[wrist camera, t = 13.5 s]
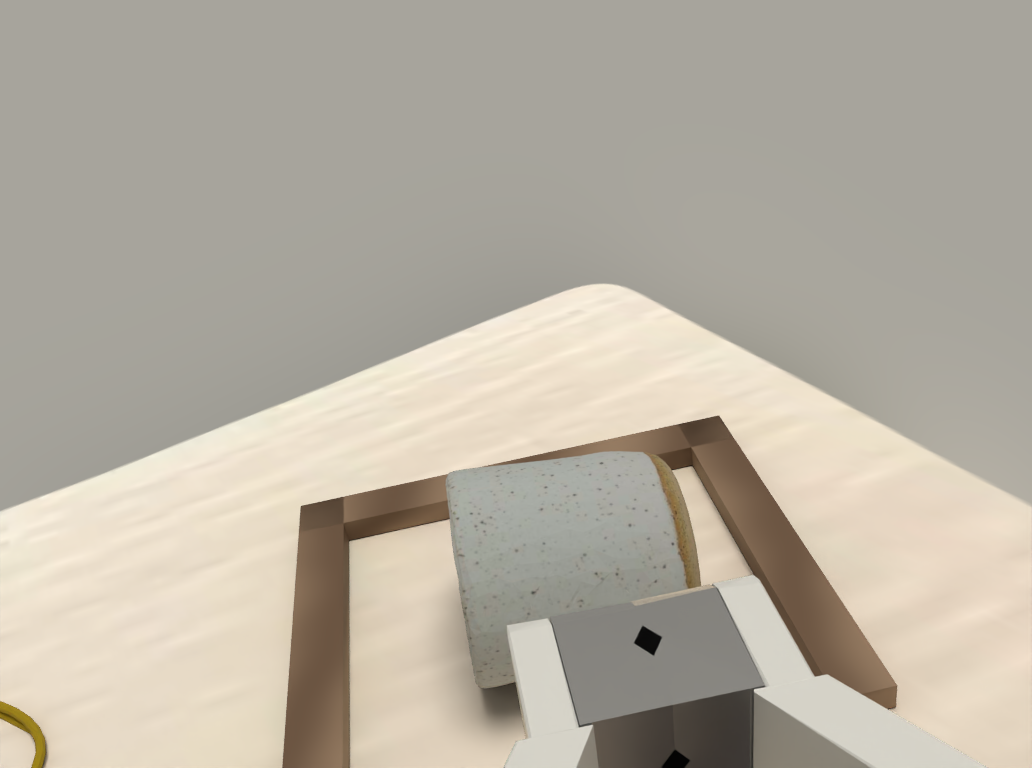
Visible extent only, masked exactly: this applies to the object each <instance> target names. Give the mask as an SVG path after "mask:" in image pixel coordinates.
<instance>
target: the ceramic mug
mask: <svg viewBox="0 0 1032 768" xmlns="http://www.w3.org/2000/svg"><path fill="white" fill-rule="evenodd" d="M445 485H446V491H447V499H448V508H449V516H450V526H451V537H452V546H453V553H454V559H455V565H456V570H457V574H458V579H459V590H460V596H461V602H462V608H463V613H464V618H465V624H466V631H467V637H468V642H469V648H470V655H471V659H472V665H473V670H474V676H475V681H476V684H477V685H478V687H480V688H492V687H497V686H502V685H506V684H510V683H514V682H516V681H515V676H514V670H513V664H512V659H511V653H510V647H509V642H508V636H507V625H512V624H517V623H523V622H529V621H534V620H540V619H546V618H548V619H549V620H550V617H551V616H557V615H562V614H568V613H573V612H579V611H584V610H590V609H595V608H601V607H606V606H612V605H618V604H623V603H629V602H631V601H635V600H640V599H644V598H649V597H654V596H658V595H663V594H668V593H672V592H677V591H681V590H686V589H691V588H695V587H700V586H701V581H700V570H699V563H698V556H697V549H696V544H695V539H694V534H693V530H692V526H691V521H690V517H689V513H688V510H687V507H686V503H685V500H684V497H683V495H682V492H681V489H680V486H679V484H678V481H677V479H676V477H675V476H674V474H673V472H672V470H671V469H670V467H669V466H668V465H667V464H666V462H664V461H663V460H662V459H661V458H659V457H658V456H656V455H653V454H650V453H647V452H626V451H609V452H599V453H593V454H587V455H582V456H575V457H567V458H560V459H552V460H543V461H534V462H525V463H517V464H508V465H499V466H490V467H481V468H472V469H464V470H458V471H453V472H451V473H449V474H448V475H447V478H446V484H445Z"/></svg>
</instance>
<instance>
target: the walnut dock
mask: <svg viewBox="0 0 1032 768" xmlns="http://www.w3.org/2000/svg"><path fill="white" fill-rule="evenodd" d="M609 451H626V452H647V453H650V454H653V455H656V456H658V457H659V458H661V459H662V460H663V461H664V462H666V464H667V465H668V466H669V467H670V469H671V470H672V469H676V468H681V467H686V466H690V465H693V467H694V468H695V470H696V472H697V474H698V476H699V477H700V479H701V481H702V483H703V484H704V486H705V488H706V490H707V492H708V493H709V495H710V497H711V499H712V500H713V502H714V504H715V506H716V507H717V509H718V511H719V513H720V515H721V516H722V518H723V520H724V522H725V523H726V525H727V527H728V529H729V531H730V532H731V534H732V536H733V538H734V539H735V541H736V543H737V545H738V547H739V548H740V550H741V552H742V554H743V555H744V557H745V559H746V561H747V562H748V564H749V566H750V568H751V570H752V571H753V573H754V575H755V577H757V578H758V579H759V580H760V581H761V583H762V585H763V586H764V588H765V590H766V592H767V593H768V595H769V597H770V599H771V600H772V602H773V604H774V606H775V608H776V609H777V611H778V613H779V615H780V616H781V618H782V620H783V622H784V623H785V625H786V627H787V629H788V630H789V632H790V634H791V636H792V637H793V639H794V641H795V643H796V644H797V646H798V648H799V650H800V652H801V653H802V655H803V657H804V659H805V660H806V662H807V664H808V666H809V667H810V669H811V671H812V673H813V674H814V676H815V677H816V676H821V675H827V674H828V675H829V676H831V677H833V678H835V679H836V680H838V681H840V682H841V683H843V684H845V685H847V686H848V687H850V688H852V689H853V690H855V691H857V692H859V693H860V694H862V695H864V696H866V697H867V698H869V699H871V700H872V701H874V702H876V703H878V704H879V705H881V706H883V707H884V708H886V709H889V708H893V707H896V695H897V685H896V683H895V682H894V680H893V678H892V677H891V675H890V674H889V672H888V671H887V669H886V668H885V666H884V665H883V663H882V662H881V660H880V659H879V657H878V656H877V654H876V653H875V651H874V650H873V648H872V647H871V645H870V644H869V642H868V641H867V639H866V638H865V636H864V635H863V633H862V632H861V630H860V629H859V627H858V625H857V624H856V622H855V621H854V619H853V618H852V616H851V615H850V613H849V612H848V610H847V609H846V607H845V606H844V604H843V603H842V601H841V600H840V598H839V597H838V595H837V594H836V592H835V591H834V589H833V588H832V586H831V585H830V583H829V582H828V580H827V579H826V577H825V575H824V574H823V572H822V571H821V569H820V568H819V566H818V565H817V563H816V562H815V560H814V559H813V557H812V556H811V554H810V553H809V551H808V550H807V548H806V547H805V545H804V544H803V542H802V541H801V539H800V538H799V536H798V535H797V533H796V532H795V530H794V529H793V527H792V525H791V524H790V522H789V521H788V519H787V518H786V516H785V515H784V513H783V512H782V510H781V509H780V507H779V506H778V504H777V503H776V501H775V500H774V498H773V497H772V495H771V494H770V492H769V491H768V489H767V488H766V486H765V485H764V483H763V482H762V480H761V479H760V477H759V476H758V474H757V472H756V471H755V469H754V468H753V466H752V465H751V463H750V462H749V460H748V459H747V457H746V456H745V454H744V453H743V451H742V450H741V448H740V447H739V445H738V444H737V442H736V441H735V439H734V438H733V436H732V435H731V433H730V432H729V430H728V429H727V427H726V426H725V424H724V422H723V421H722V419H721V418H720V416H715V417H710V418H705V419H701V420H696V421H691V422H687V423H682V424H678V425H673V426H668V427H664V428H659V429H655V430H650V431H645V432H641V433H636V434H631V435H627V436H622V437H618V438H613V439H608V440H604V441H599V442H595V443H590V444H585V445H581V446H576V447H571V448H567V449H562V450H558V451H553V452H548V453H544V454H539V455H534V456H530V457H525V458H521V459H516V460H511V461H507V462H502V463H498V464H493V465H488V466H484V467H490V466H499V465H508V464H517V463H525V462H534V461H543V460H552V459H560V458H567V457H575V456H582V455H587V454H593V453H599V452H609ZM479 468H481V467H479ZM447 475H448V474H447ZM447 475H442V476H437V477H433V478H428V479H424V480H419V481H414V482H410V483H405V484H401V485H396V486H391V487H387V488H382V489H377V490H373V491H368V492H364V493H359V494H354V495H350V496H345V497H340V498H336V499H331V500H327V501H322V502H317V503H313V504H308V505H304V506H301V512H300V526H299V540H298V554H297V568H296V583H295V597H294V611H293V625H292V639H291V654H290V668H289V682H288V696H287V710H286V725H285V739H284V753H283V767H282V768H350V752H349V540H353V539H357V538H362V537H366V536H371V535H375V534H380V533H385V532H389V531H394V530H398V529H403V528H407V527H412V526H416V525H421V524H426V523H430V522H435V521H439V520H444V519H448V518H450V516H449V508H448V499H447V491H446V485H445V484H446V478H447Z"/></svg>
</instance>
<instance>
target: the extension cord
mask: <svg viewBox="0 0 1032 768" xmlns="http://www.w3.org/2000/svg"><path fill="white" fill-rule="evenodd" d="M0 718H1V719H3V720H5V721H7V722H9V723H10V724H12V725H14V726H16V727H18V728H20V729H22V730H24V731H26V732H28V733H30V734H31V735H32V737H33V739H34V741H35V747H36V754H35V757H34V761H33V764H32V767H31V768H42V765H43V761H44V758H45V754H46V750H45V738H44V736H43V734H42V731H41V729H40V727H39V726H38V725H37V724H36V723H35V722H34V720H33V719H32V718H31V717H30V716H28V715H27V714H25V713H23V712H22V711H20V710H19V709H17V708H15V707H13V706H11V705H8V704H6V703H4V702H1V701H0Z"/></svg>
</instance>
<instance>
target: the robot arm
mask: <svg viewBox="0 0 1032 768" xmlns="http://www.w3.org/2000/svg"><path fill="white" fill-rule="evenodd" d="M507 636H508V642H509V647H510V653H511V659H512V664H513V670H514V676H515V681H516V687H517V693H518V698H519V704H520V710H521V715H522V721H523V727H524V732H525V738H526V739H523V740H519V741H516V742H515V744H514V746H513V748H512V751H511V753H510V755H509V757H508V759H507V761H506V763H505V765H504V767H503V768H988V767H986V766H984V765H983V764H981V763H979V762H978V761H976V760H974V759H972V758H971V757H969V756H967V755H965V754H964V753H962V752H960V751H959V750H957V749H955V748H953V747H952V746H950V745H948V744H947V743H945V742H943V741H941V740H940V739H938V738H936V737H934V736H933V735H931V734H929V733H928V732H926V731H924V730H922V729H921V728H919V727H917V726H916V725H914V724H912V723H910V722H909V721H907V720H905V719H903V718H902V717H900V716H898V715H897V714H895V713H893V712H891V711H890V710H888V709H886V708H884V707H883V706H881V705H879V704H878V703H876V702H874V701H872V700H871V699H869V698H867V697H866V696H864V695H862V694H860V693H859V692H857V691H855V690H853V689H852V688H850V687H848V686H847V685H845V684H843V683H841V682H840V681H838V680H836V679H835V678H833V677H831V676H829V675H828V674H827V675H821V676H816V677H815V676H814V674H813V673H812V671H811V669H810V667H809V666H808V664H807V662H806V660H805V659H804V657H803V655H802V653H801V652H800V650H799V648H798V646H797V644H796V643H795V641H794V639H793V637H792V636H791V634H790V632H789V630H788V629H787V627H786V625H785V623H784V622H783V620H782V618H781V616H780V615H779V613H778V611H777V609H776V608H775V606H774V604H773V602H772V600H771V599H770V597H769V595H768V593H767V592H766V590H765V588H764V586H763V585H762V583H761V581H760V580H759V579H758V578H757V577H755V576H754V575H750V576H745V577H741V578H736V579H732V580H727V581H722V582H718V583H713V584H712V586H711V585H704V586H700V587H695V588H691V589H686V590H681V591H677V592H672V593H668V594H663V595H658V596H654V597H649V598H644V599H640V600H635V601H631V602H629V603H623V604H618V605H612V606H606V607H601V608H595V609H590V610H584V611H579V612H573V613H568V614H562V615H557V616H551V617H550V620H549V619H548V618H546V619H540V620H534V621H529V622H523V623H517V624H512V625H507Z"/></svg>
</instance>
